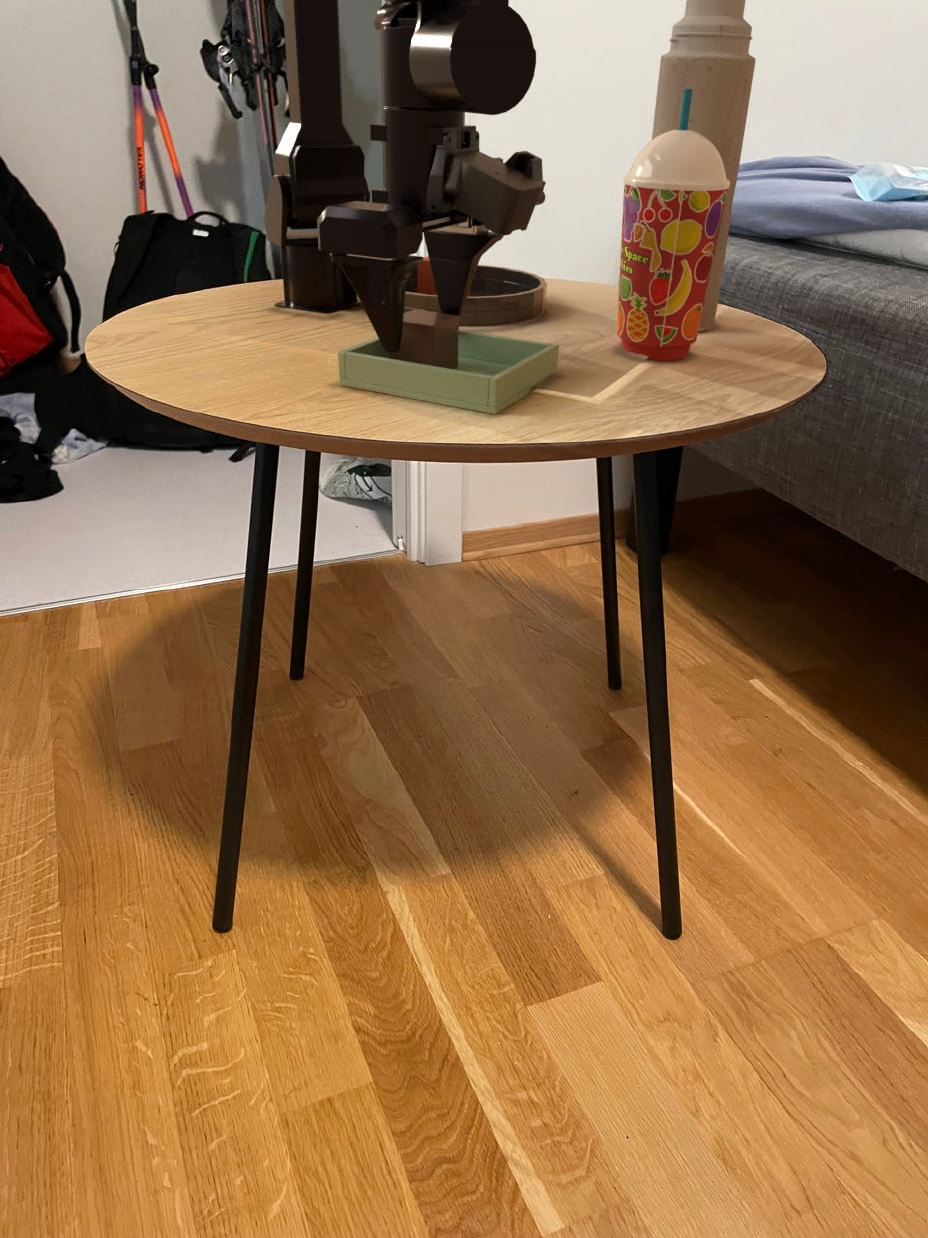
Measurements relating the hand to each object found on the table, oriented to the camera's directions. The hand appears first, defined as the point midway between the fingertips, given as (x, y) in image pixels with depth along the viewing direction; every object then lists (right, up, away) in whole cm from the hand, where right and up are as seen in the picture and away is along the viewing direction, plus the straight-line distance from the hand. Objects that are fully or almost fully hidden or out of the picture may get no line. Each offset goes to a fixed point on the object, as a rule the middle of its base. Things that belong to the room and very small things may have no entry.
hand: (423, 338), depth 72 cm
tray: (+2, -3, +1) cm, 4 cm away
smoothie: (+20, +1, +9) cm, 22 cm away
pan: (+3, +9, +22) cm, 24 cm away
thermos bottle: (+24, +7, +19) cm, 31 cm away
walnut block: (0, -2, +1) cm, 2 cm away
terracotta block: (+1, +11, +24) cm, 26 cm away
